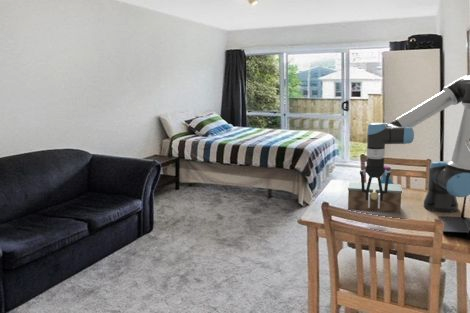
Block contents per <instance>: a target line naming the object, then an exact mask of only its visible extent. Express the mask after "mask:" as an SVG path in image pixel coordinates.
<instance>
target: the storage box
mask: <svg viewBox="0 0 470 313" xmlns="http://www.w3.org/2000/svg"><path fill="white" fill-rule="evenodd" d="M347 191H348V193H347V196H348V199H347V201H348V202H347V211H359V212H372V213H373V212H374V213H375V212H376V213H386V214H387V213H388V214H401V206H402V204H401V203H402V193H390V192H387V193H385V194H383V200H382V201H380V208H378V198H377V199H376V200H373V199H371V197H370V208H368V200H366V193H365V192H362V191H356V190H348V189H347ZM372 192H373V191H369V193H370V194H371V193H372ZM376 193H377V194H378V193H380V192H376Z"/></svg>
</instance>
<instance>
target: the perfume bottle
mask: <svg viewBox="0 0 470 313" xmlns="http://www.w3.org/2000/svg"><path fill="white" fill-rule="evenodd" d="M384 168H385V170H386V171H390V172H391V169H392V168H391V167H390V166H387V165H384ZM390 177H391V175H390V176H389V180H388V184H395V183H393V180H392V179H391V178H390ZM385 179H386V176H385V173H383V174H382V178H381V183H382V184H385Z"/></svg>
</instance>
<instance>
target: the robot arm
mask: <svg viewBox="0 0 470 313" xmlns="http://www.w3.org/2000/svg"><path fill="white" fill-rule="evenodd" d="M460 103H461V104H462V106H463V107H464V109H463V113H462V116H461V120H460V125H459V129H458V132H457V133H458V134H457V137H456V140H455V144H454V149H453V152H452V156H451V160H449V161H446V160H445V161H444V160H442V161H439V160H438V161H432V162H431V163H430V165H429V168H428V171H429V173H428V175H429V176H428V189H427V190H428V191H427V193H426V195H425V198H424V200H423V207H424V208H425V209H427V210H428V211H429V210H430V211H433V212H438V211H439V213H452V212H451V211H454V212H457V211H458V210H459V203H458V202H459V201H458V200H457V198H465V197H466V198H467V197H468V196H470V152H469V150H468V148H467V146H466V145H465V141H466V140H467V139H469V138H470V73H469V74H466V75H464V76H461V77H459V78H458V79H456V80H454V81H453V82H451V83H449V84H448V85H446V86H444V87H443V88H442V91H440V92H439V93H436V94H435V95H434V96H432V97H430V98H429V99H426V100H425V101H423V102H422V103H421V104H420V103H419V104H418V105H417V106H415V107H413V108H412V109H410V110H409V111H407V112H405V113H403V114H402V115H400V116H398V117H397V118H395V119H393V120H391V121H390V122H370V123H369V124H368V125H367V133H366V135H367V137H366V139H367V142H366V144H367V145H366V146H367V147H366V157H367V158H366V167H365V169H363V170H362V169H360V170H359V175H360V177H361V179H360V180H361V181H360V182H361V184H362V192H365V193H366V200H368V208H370V193H369V189H370V184H371V183H372V180H373V179H374V178H376V179H377V183H378V184H379V190H380V193H378V208H380V201H382V200H383V194H385V193H387V189H388V180H389V176H390V177H391V173H392V172H391V170H390V171H386V170H385V168H384V167H385V151H386V150H385V146H386V145H406V144H411V143H412V142H413V141H414V138H415V131H414V129H413V128H414V127H416V126H418V125H420V124H421V123H422V122H425V121H426V120H428V119H430V118H431V117H432V116H435V115H436V114H439V113H440V112H442V111H443V110H445V109H447V108H448V107H450V106H452V105H454V106H456V105H458V104H460ZM383 173H385V176H386V179H385V188H384V190H382V184H381V179H382V178H381V177H383ZM366 174H367V175H368V181H367V183H368V184H367V188H366V189H365V185H364V183H365V175H366ZM456 210H457V211H456Z"/></svg>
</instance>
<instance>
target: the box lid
mask: <svg viewBox="0 0 470 313" xmlns="http://www.w3.org/2000/svg"><path fill="white" fill-rule="evenodd" d="M367 184H368V182H364V185H365V189H366V188H367ZM381 184H382V183H381ZM384 188H385V184H382V190H384ZM348 190H356V191H362V184H361V181H359V182H357V181H349V183H348V186H347V191H348ZM369 191H373V192H372V193H371V194H370V197H371V199H373V200H376V199H377V198H378V194H377V193H376V192H380V190H379V184H378V182H377V183H376V182H371V184H370V189H369ZM387 192H390V193H401V194H403V189H402V185H401V184H397V183H394V184H388V189H387Z"/></svg>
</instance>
